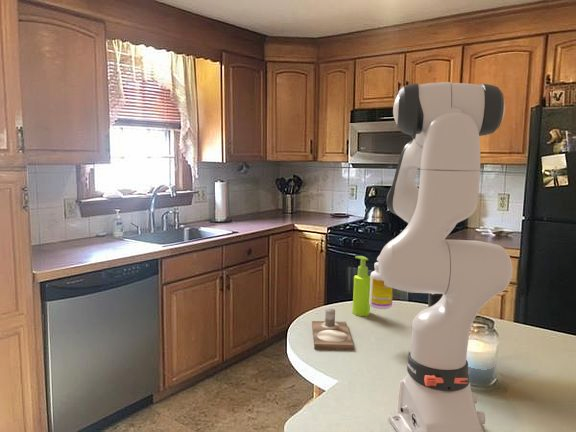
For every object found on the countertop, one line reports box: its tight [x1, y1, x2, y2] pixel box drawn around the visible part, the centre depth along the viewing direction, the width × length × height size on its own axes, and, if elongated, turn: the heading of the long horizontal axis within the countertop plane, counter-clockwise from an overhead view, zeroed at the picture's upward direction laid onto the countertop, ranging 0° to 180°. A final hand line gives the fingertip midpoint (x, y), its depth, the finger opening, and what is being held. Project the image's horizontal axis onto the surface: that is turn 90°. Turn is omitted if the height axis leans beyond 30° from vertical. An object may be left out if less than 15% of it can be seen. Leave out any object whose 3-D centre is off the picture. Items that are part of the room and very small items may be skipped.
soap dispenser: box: [352, 255, 371, 317], centre depth 162 cm, size 6×7×20 cm
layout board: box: [311, 308, 354, 351], centre depth 141 cm, size 18×11×6 cm, turn 179°
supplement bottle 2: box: [427, 293, 443, 308], centre depth 159 cm, size 7×7×12 cm
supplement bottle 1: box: [369, 261, 394, 310], centre depth 136 cm, size 7×7×13 cm
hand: (379, 281), depth 136 cm, fingers closed on supplement bottle 1, 7 cm apart
